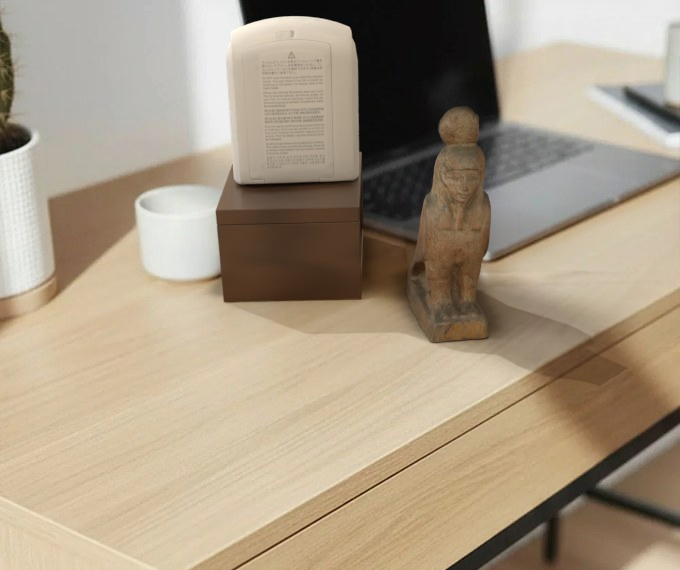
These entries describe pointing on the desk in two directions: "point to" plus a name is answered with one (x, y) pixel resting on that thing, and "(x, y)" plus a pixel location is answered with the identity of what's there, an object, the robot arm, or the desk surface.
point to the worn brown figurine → (452, 236)
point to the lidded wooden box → (291, 240)
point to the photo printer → (293, 101)
